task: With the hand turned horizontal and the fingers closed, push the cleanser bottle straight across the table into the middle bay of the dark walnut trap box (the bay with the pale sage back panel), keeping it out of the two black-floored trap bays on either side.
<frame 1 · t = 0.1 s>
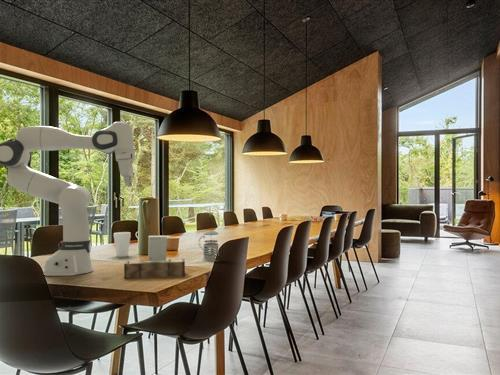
hand: (128, 186, 197), 39 cm above the table, tool pointing down, fingers open, 8 cm apart
skincare box: (157, 269, 198), on the table
french press: (209, 259, 227), on the table
trap box: (155, 275, 184), on the table
foam cup: (122, 256, 242), on the table
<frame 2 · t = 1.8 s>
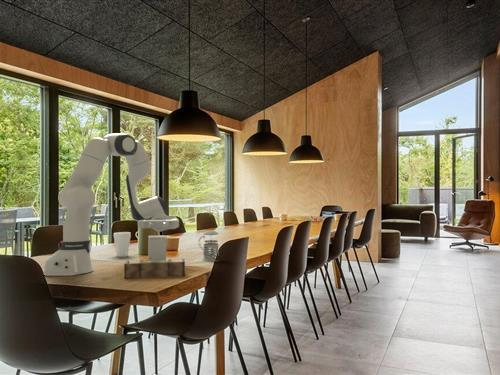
hand: (157, 224, 206), 20 cm above the table, tool horizontal, fingers open, 5 cm apart
nothing on the table moved.
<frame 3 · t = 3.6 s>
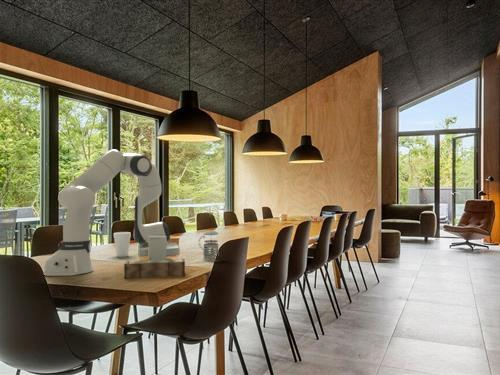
hand: (158, 253, 206), 6 cm above the table, tool horizontal, fingers closed
nothing on the table moved.
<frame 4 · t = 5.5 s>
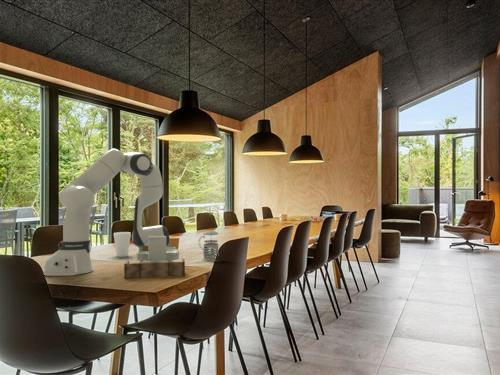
hand: (157, 257, 200), 5 cm above the table, tool horizontal, fingers closed
skincare box: (157, 270, 197), on the table, touching gripper
everything else where it was.
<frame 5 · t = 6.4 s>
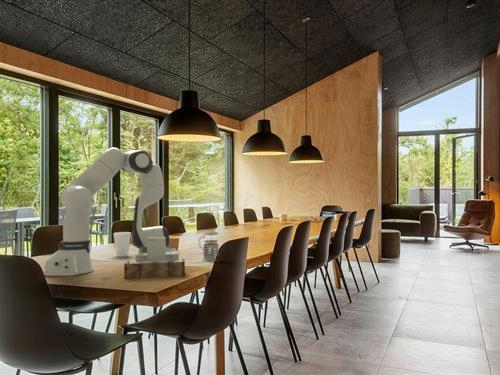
hand: (156, 259, 195), 5 cm above the table, tool horizontal, fingers closed, pressing on skincare box
skincare box: (156, 272, 192), on the table, touching gripper
everything else where it was.
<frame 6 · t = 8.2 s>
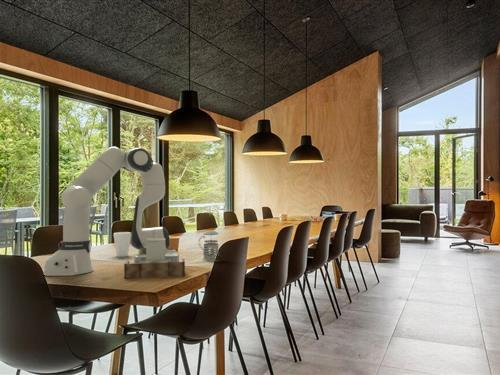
hand: (156, 261, 189), 5 cm above the table, tool horizontal, fingers closed, pressing on skincare box
skincare box: (155, 274, 186), on the table, touching gripper
everything else where it was.
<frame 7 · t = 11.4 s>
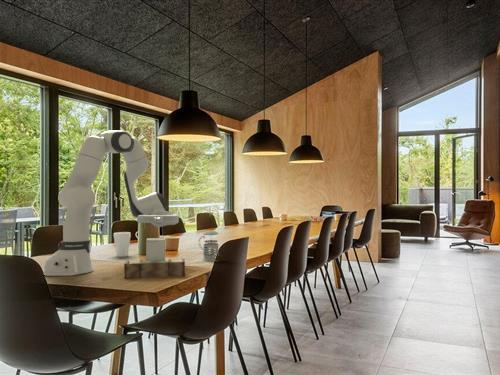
hand: (157, 219, 206), 23 cm above the table, tool horizontal, fingers closed
skincare box: (155, 274, 186), on the table
everything else where it was.
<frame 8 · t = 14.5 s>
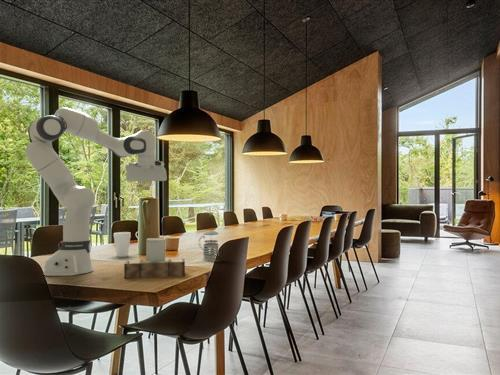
hand: (146, 190, 216), 37 cm above the table, tool pointing down, fingers closed
nothing on the table moved.
at the end: skincare box inside the target area (2.2 cm from its centre), on the table; skincare box tilted 0° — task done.
